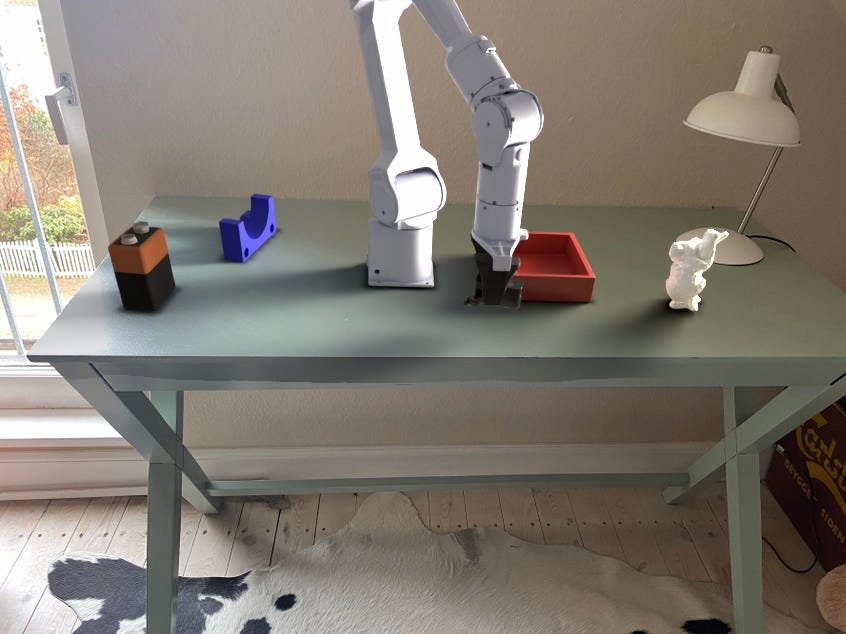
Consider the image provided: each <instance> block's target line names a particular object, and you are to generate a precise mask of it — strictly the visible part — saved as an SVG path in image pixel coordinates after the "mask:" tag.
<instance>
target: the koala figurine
mask: <svg viewBox="0 0 846 634" xmlns="http://www.w3.org/2000/svg"><path fill="white" fill-rule="evenodd" d="M729 235H730V234H729V233H728V232H727V231H722V232H721V233H720V232H718V231H716V230H714V229H712V228H711V229H710V228H709V229H706V230H705V231H704V234H703V236H702V238H701V239H700V238H698V237H694V238H691V239H690V240H688V241H687V240H680V241H677V242H672V243H671V247H670V248H669V251H668V256H669V257H670V260H671V261H672V262H673V263H672V264H671V266H670V271H669V273H670V274H669V277H668V278H667V279H666V280H665V290H666V293H667V295H668V297H669V298H670V299H671V301H670V302H669V307H670V308H671V309H674V310H680V309H688V310H689V311H692V312H697V311H698V309H699V307H698V303H700V302H701V298H700V297H699V296H698V295H699V294H700V293H702V292H703V290H704V289H705V286H706V279H705V278H703V277H702V274H703V273H704V272H706V271H707V270H709V268H710V267H711V266H712V264H713V261H714V258H715V253H716V246H717V244H719V243H720V242H721V241H723V240H725V239H726V238H728V236H729Z"/></svg>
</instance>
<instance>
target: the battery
mask: <svg viewBox="0 0 846 634" xmlns="http://www.w3.org/2000/svg"><path fill="white" fill-rule="evenodd" d="M107 251H108V255H109V259H110V262H111V266H112V269H113V273H114V277H115V280H116V285H117V288H118V292H119V296H120V300H121V304H122V307H123V309H125V310H130V311H141V312H156V311H158V309H159V308H160V307H161V306H162V304H163V303H164V302H165V301H166V300H167V299H168V298H169V297H170V295H171V294H172V293H173V292H174V291H175V290H176V283H175V277H174V273H173V267H172V262H171V257H170V253H169V248H168V244H167V238H166V232H165V229H164V228H162V227H157V226H150V225H149V221H144V220H143V221H142V220H139V221H137V222H133V223H131V226H130V227H129V228H127V229H126V230H125V231H124V232H122V233H121V234H120V235H119V236H118V237H117V238H115V239H114V241H112V242H111V243H110V244H109V245H108V246H107Z"/></svg>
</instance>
